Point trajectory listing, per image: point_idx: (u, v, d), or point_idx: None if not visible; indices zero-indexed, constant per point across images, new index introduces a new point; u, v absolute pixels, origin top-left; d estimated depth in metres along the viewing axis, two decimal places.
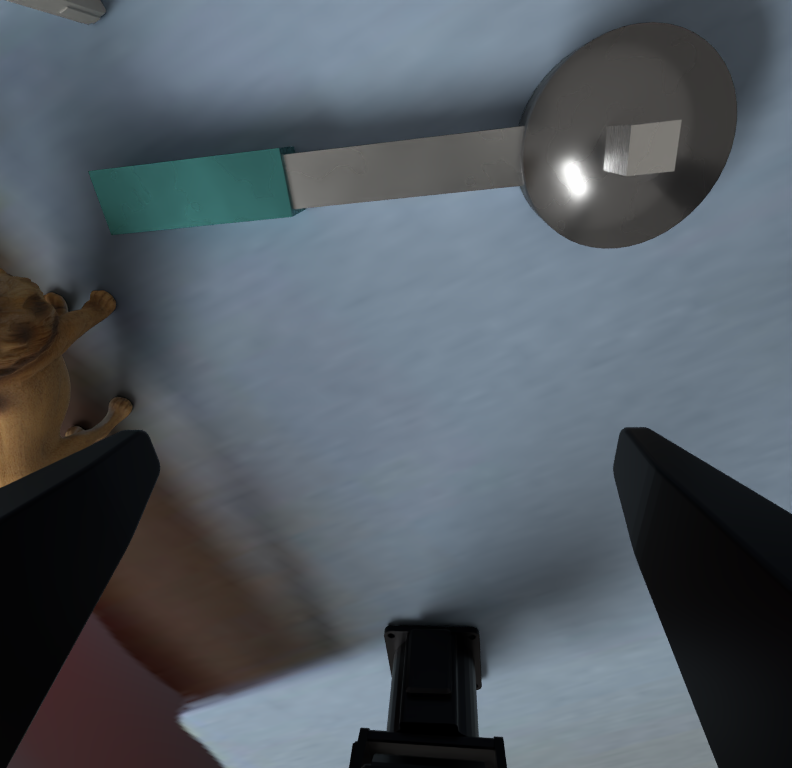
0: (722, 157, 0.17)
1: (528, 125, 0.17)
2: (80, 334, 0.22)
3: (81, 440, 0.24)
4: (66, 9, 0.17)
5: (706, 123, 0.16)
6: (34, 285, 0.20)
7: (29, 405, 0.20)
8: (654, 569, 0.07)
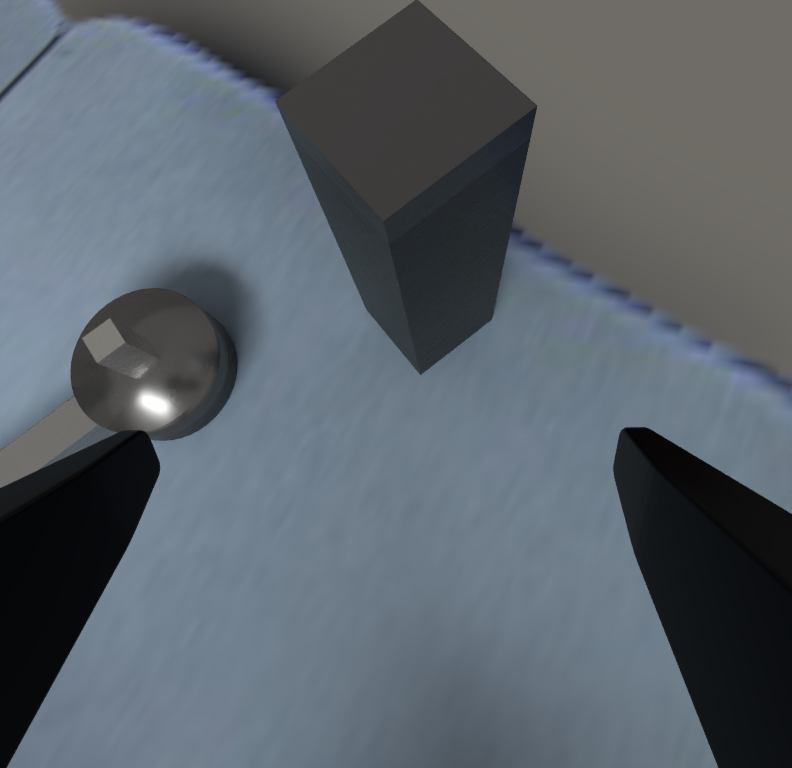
0: (206, 326, 0.22)
1: (73, 386, 0.22)
2: None
3: None
4: None
5: (181, 318, 0.23)
6: None
7: None
8: (654, 569, 0.07)
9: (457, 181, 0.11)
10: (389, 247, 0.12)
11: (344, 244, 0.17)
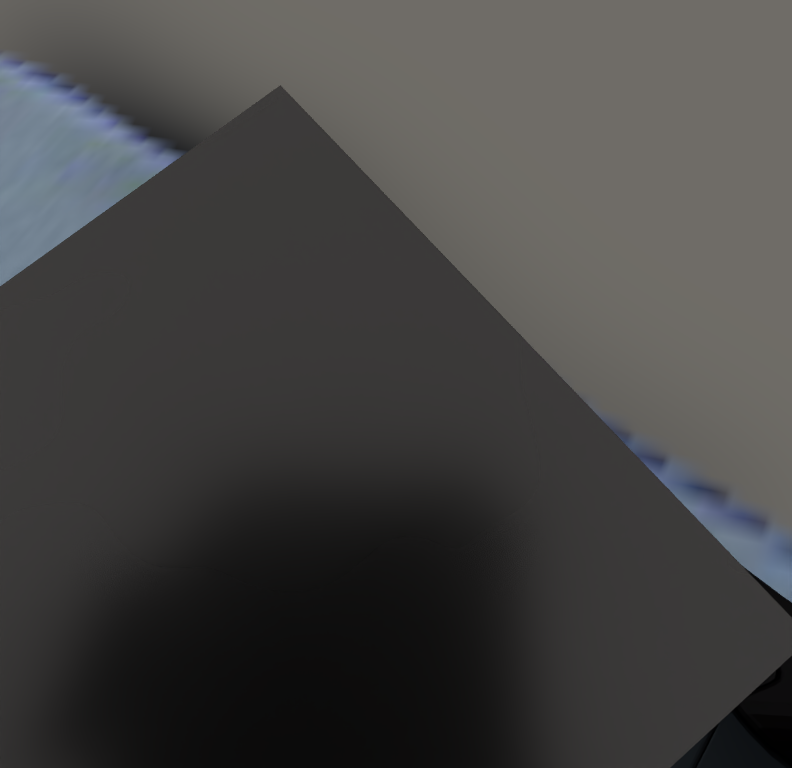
0: None
1: None
2: None
3: None
4: None
5: None
6: None
7: None
8: None
9: None
10: None
11: None
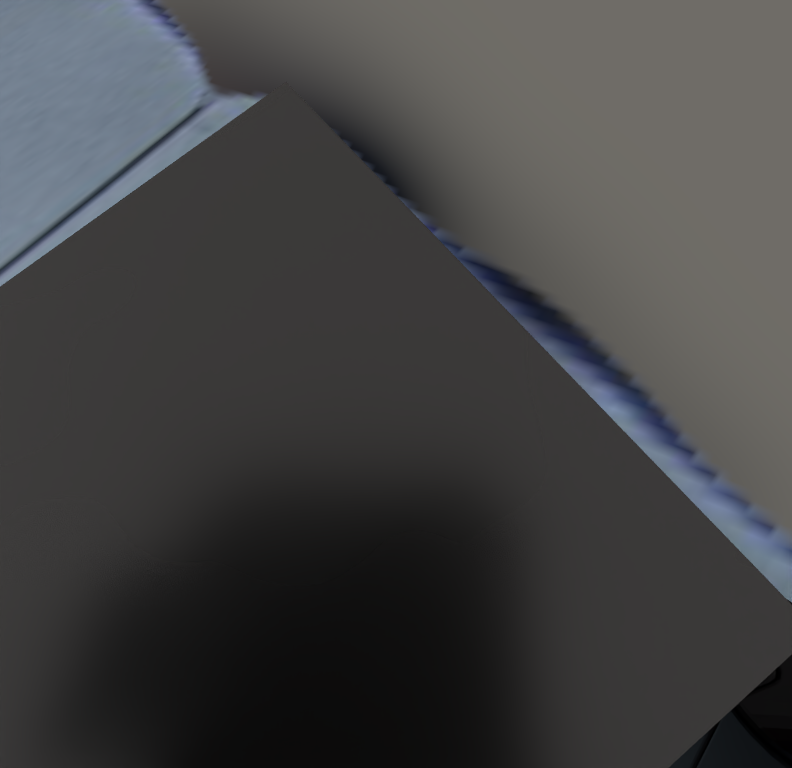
0: None
1: None
2: None
3: None
4: None
5: None
6: None
7: None
8: None
9: None
10: None
11: None
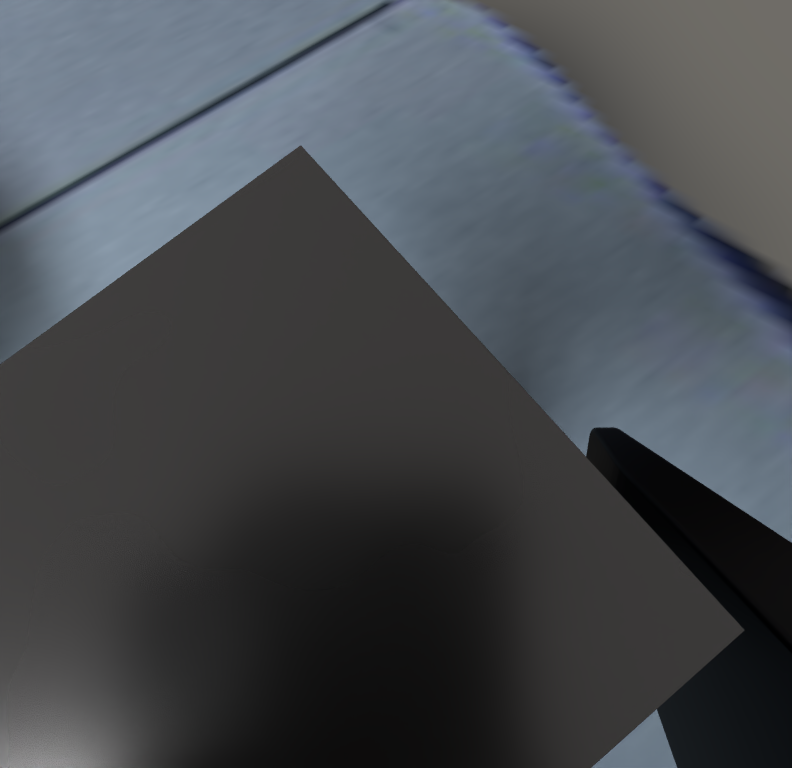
0: None
1: None
2: None
3: None
4: None
5: None
6: None
7: None
8: None
9: None
10: None
11: None
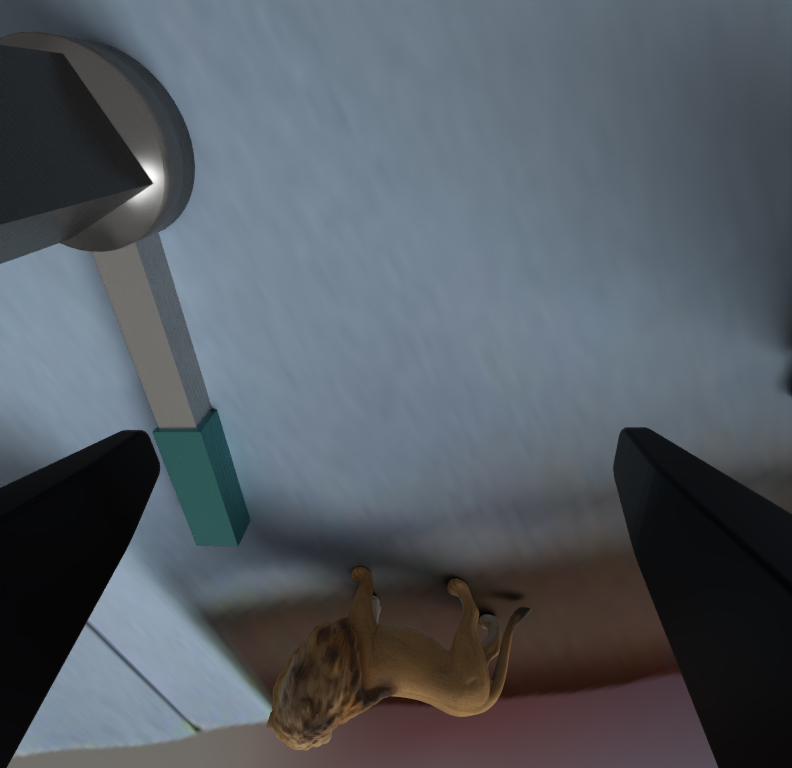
0: (45, 39, 0.15)
1: (77, 248, 0.19)
2: (366, 606, 0.28)
3: (459, 635, 0.27)
4: None
5: None
6: (321, 624, 0.28)
7: (396, 669, 0.26)
8: (654, 569, 0.07)
9: None
10: None
11: None
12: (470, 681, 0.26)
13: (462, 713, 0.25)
